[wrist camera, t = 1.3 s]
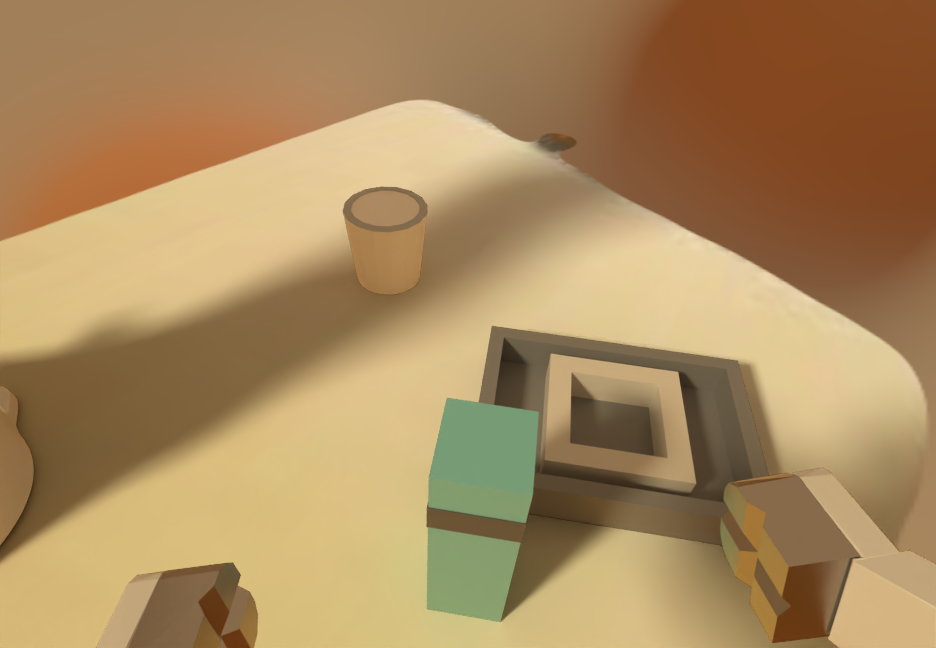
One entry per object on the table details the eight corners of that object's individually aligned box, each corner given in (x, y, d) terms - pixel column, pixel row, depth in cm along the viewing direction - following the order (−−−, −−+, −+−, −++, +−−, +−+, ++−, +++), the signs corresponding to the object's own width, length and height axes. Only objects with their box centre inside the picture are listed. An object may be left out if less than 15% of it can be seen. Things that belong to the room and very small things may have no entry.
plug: (425, 609, 31) (427, 479, 22) (439, 537, 34) (446, 396, 25) (501, 623, 30) (534, 496, 22) (508, 549, 33) (540, 410, 25)
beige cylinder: (383, 242, 55) (379, 176, 50) (442, 269, 52) (444, 202, 48) (333, 279, 50) (324, 211, 46) (395, 310, 48) (392, 241, 43)
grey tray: (463, 503, 35) (466, 476, 33) (488, 353, 45) (491, 326, 43) (761, 551, 34) (782, 527, 32) (722, 387, 44) (737, 360, 42)
